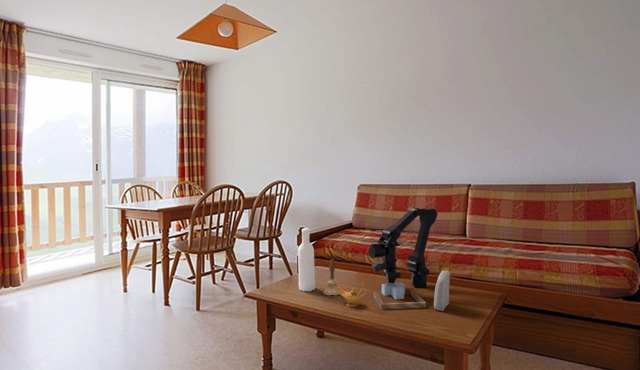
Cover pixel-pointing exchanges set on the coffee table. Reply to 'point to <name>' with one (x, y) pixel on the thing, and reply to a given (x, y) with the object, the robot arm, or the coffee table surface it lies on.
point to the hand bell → (331, 281)
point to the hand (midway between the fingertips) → (390, 288)
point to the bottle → (306, 263)
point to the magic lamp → (350, 295)
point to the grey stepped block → (394, 290)
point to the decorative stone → (442, 291)
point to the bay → (418, 304)
